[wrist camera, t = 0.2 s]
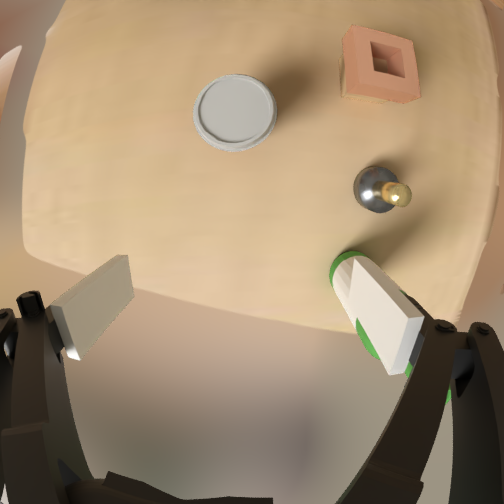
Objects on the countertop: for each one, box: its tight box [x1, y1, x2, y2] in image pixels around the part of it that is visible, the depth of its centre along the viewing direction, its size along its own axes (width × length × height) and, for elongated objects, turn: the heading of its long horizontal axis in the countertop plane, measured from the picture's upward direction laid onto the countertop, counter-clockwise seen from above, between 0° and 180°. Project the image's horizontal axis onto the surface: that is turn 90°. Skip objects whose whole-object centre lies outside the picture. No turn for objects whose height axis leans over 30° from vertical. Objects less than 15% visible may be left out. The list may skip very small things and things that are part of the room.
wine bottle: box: [329, 251, 451, 404], centre depth 30 cm, size 8×8×30 cm
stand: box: [339, 54, 388, 104], centre depth 31 cm, size 7×7×6 cm
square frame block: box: [342, 25, 421, 104], centre depth 26 cm, size 9×9×5 cm
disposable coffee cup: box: [193, 74, 277, 152], centre depth 32 cm, size 10×10×12 cm
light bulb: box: [354, 167, 412, 213], centre depth 35 cm, size 7×7×10 cm
